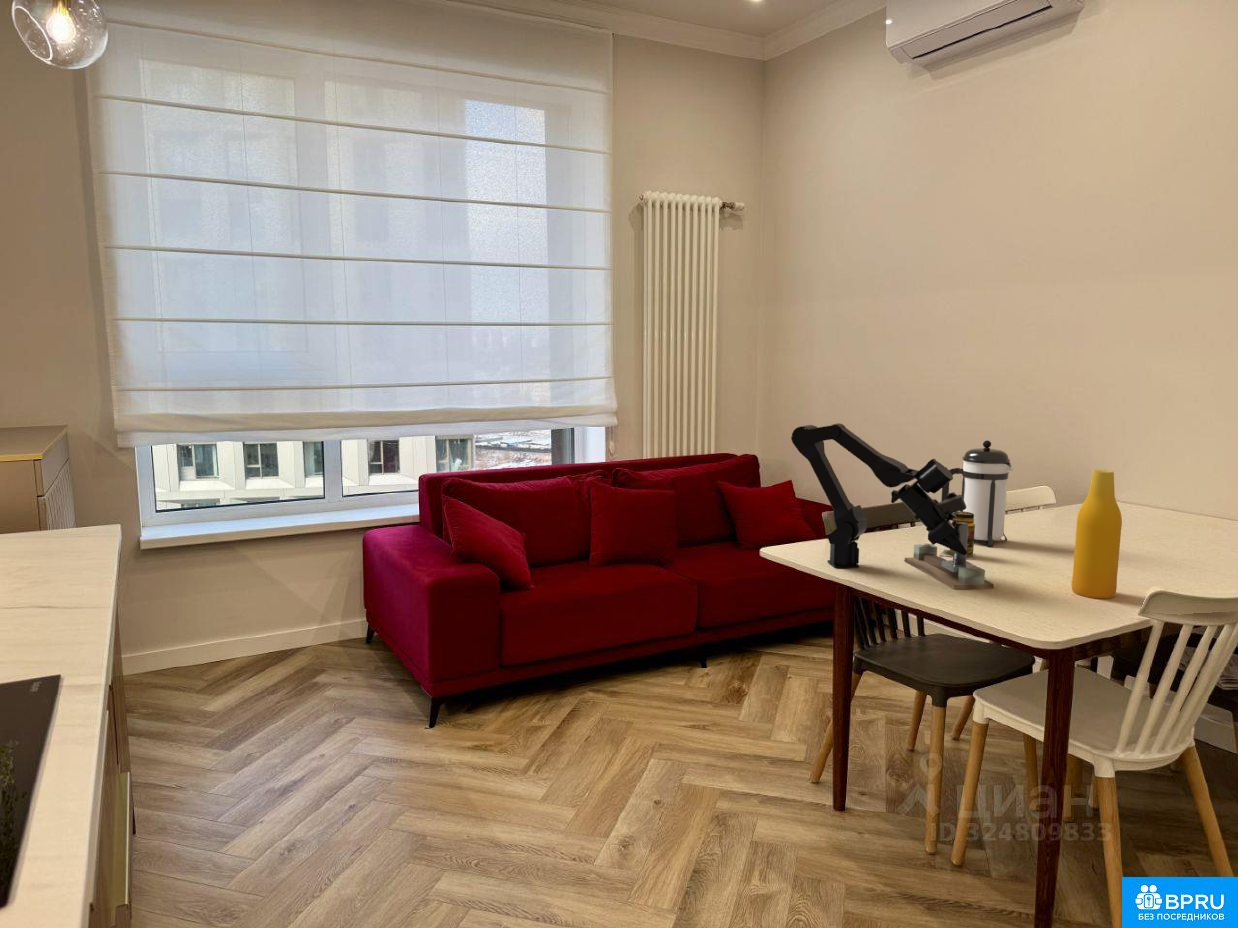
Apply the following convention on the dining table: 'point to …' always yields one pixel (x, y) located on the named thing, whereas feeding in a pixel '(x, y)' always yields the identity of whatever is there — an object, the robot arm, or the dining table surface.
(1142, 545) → the dining table surface
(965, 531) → the carriage
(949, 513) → the robot arm
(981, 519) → the coffee press
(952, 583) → the board
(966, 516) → the condiment
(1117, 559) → the beer bottle
